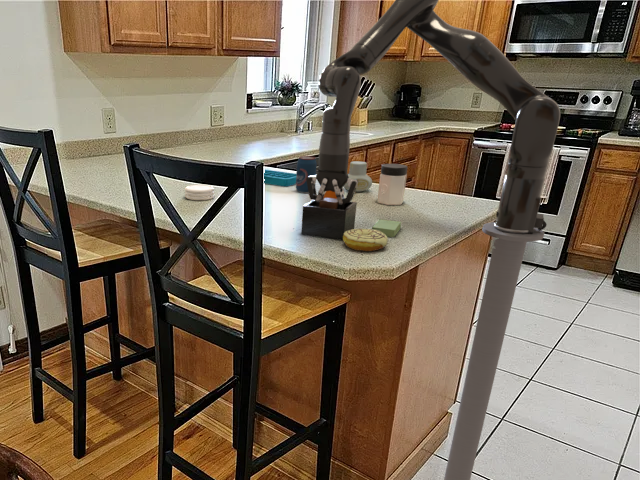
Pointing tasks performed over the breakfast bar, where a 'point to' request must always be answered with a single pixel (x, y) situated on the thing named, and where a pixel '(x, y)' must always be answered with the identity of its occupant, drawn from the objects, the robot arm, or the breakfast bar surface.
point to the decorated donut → (365, 239)
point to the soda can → (305, 172)
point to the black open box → (328, 220)
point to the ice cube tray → (279, 178)
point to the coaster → (199, 192)
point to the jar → (392, 184)
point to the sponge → (387, 227)
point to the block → (329, 203)
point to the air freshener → (359, 176)
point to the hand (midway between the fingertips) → (329, 216)
